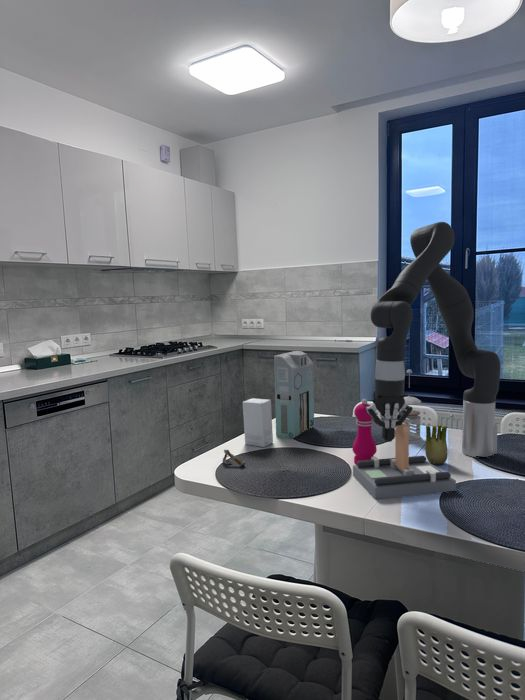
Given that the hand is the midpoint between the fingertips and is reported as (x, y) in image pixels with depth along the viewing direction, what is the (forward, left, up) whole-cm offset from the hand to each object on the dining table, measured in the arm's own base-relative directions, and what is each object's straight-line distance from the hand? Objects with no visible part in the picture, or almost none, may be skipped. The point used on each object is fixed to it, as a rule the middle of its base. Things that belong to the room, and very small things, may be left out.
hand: (387, 440), depth 125 cm
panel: (-4, 0, -12) cm, 13 cm away
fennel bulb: (-21, -12, -13) cm, 27 cm away
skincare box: (+29, -43, -12) cm, 53 cm away
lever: (-4, 0, -8) cm, 9 cm away
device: (+13, -54, -13) cm, 57 cm away
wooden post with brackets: (+40, -24, -13) cm, 48 cm away
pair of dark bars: (-4, 0, -9) cm, 10 cm away
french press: (-23, -36, -12) cm, 45 cm away
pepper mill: (0, -17, -12) cm, 21 cm away
